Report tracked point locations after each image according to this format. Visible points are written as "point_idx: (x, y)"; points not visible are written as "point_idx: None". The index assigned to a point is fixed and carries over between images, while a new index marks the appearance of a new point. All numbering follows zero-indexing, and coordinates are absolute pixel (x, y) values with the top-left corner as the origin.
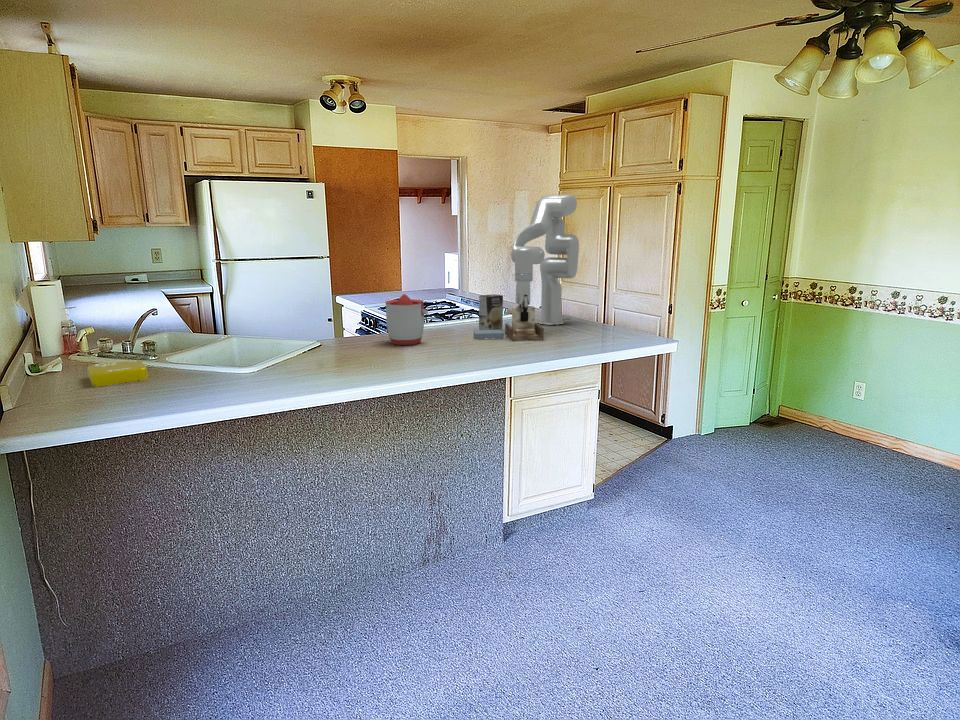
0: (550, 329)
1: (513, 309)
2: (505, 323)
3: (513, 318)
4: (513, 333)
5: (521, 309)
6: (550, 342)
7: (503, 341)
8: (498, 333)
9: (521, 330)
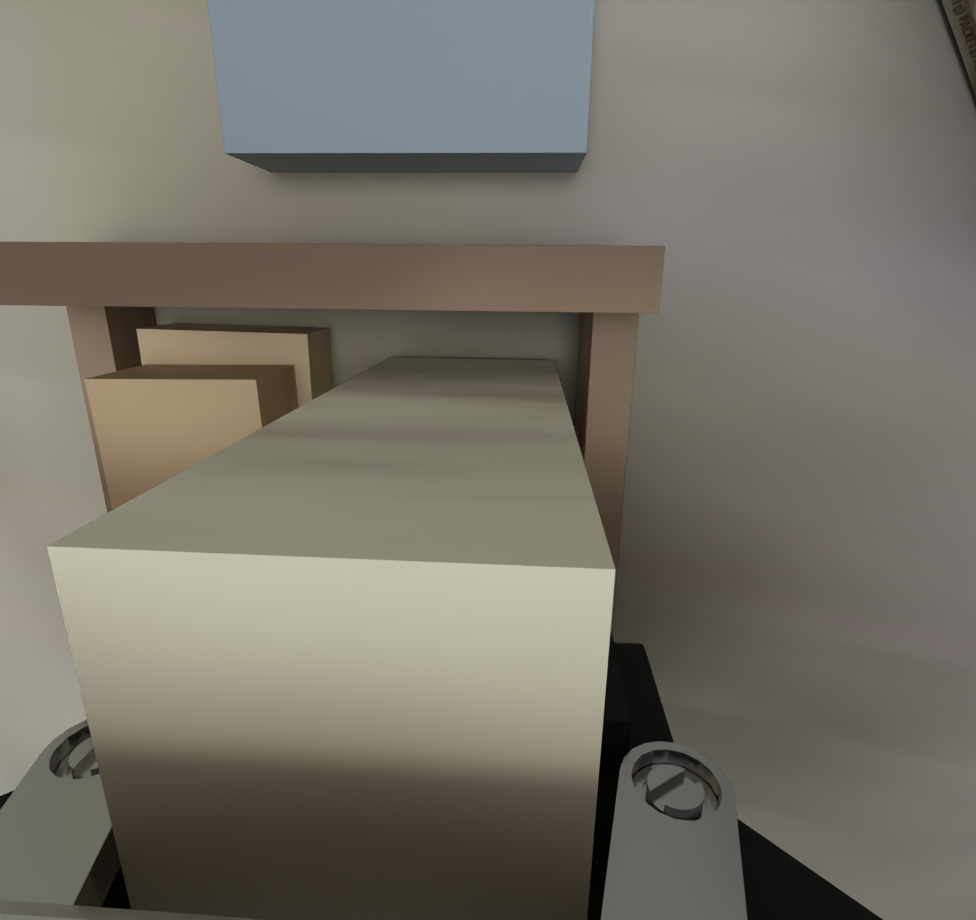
0: (867, 900)
1: (197, 514)
2: (658, 250)
3: (325, 419)
4: (395, 362)
5: (79, 791)
6: (68, 714)
7: (75, 136)
8: (216, 38)
9: (116, 470)
